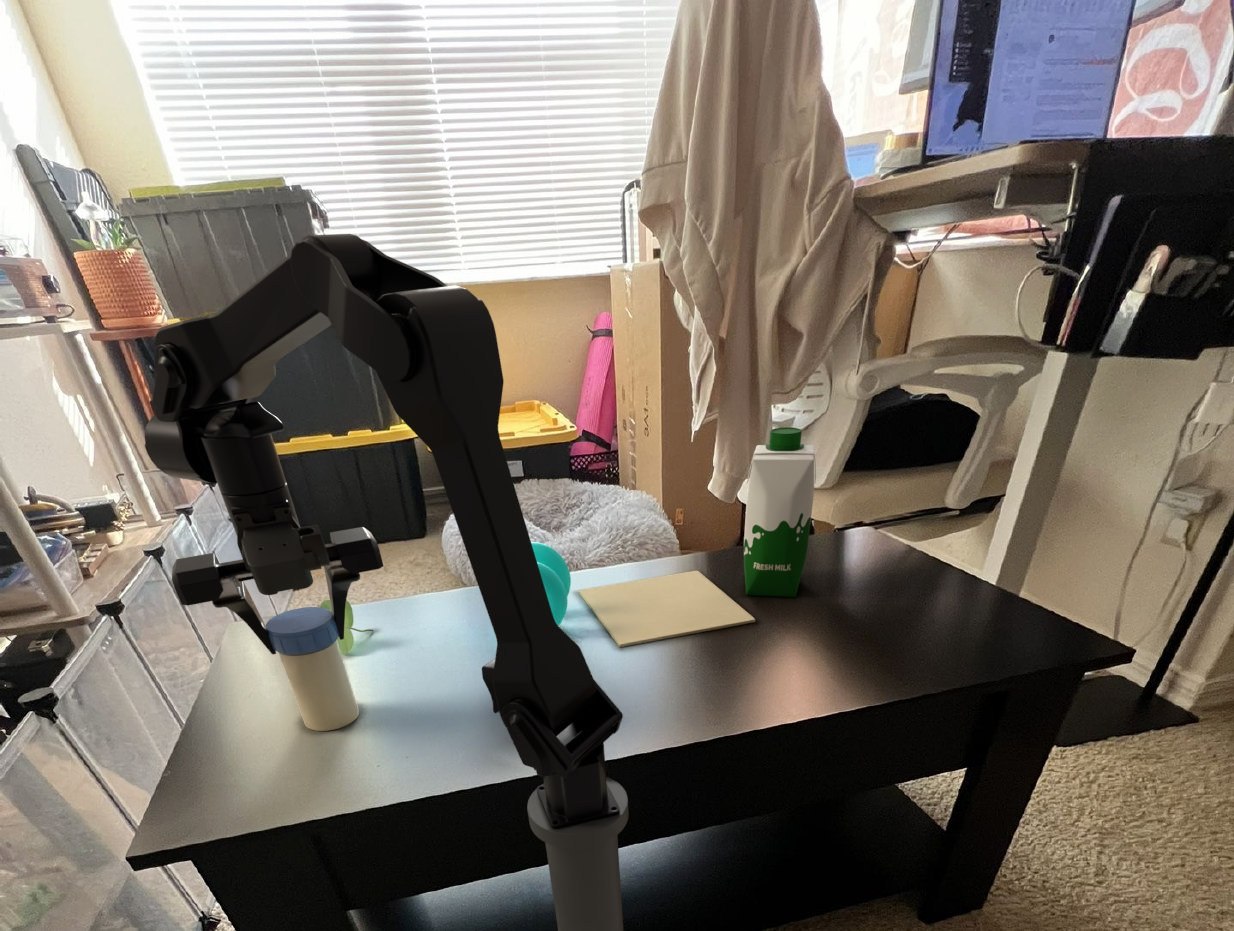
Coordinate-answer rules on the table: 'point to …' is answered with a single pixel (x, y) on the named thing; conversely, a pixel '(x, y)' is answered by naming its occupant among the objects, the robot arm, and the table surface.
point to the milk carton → (778, 514)
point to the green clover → (345, 627)
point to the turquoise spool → (553, 578)
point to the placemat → (663, 608)
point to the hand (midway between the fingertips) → (307, 645)
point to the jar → (321, 688)
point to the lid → (302, 630)
